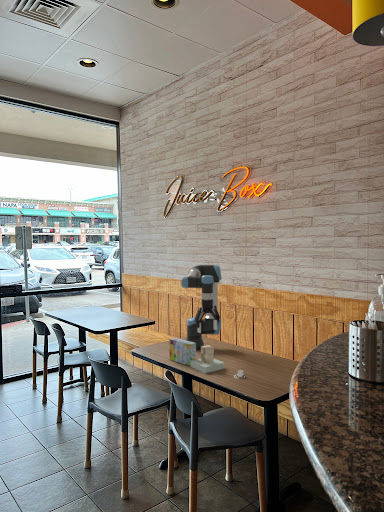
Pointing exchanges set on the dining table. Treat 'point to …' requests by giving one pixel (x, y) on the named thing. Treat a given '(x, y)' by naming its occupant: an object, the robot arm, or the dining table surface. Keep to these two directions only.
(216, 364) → the sage base plate
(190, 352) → the snack box
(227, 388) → the dining table surface
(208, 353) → the maple block
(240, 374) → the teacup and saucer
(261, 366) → the dining table surface
